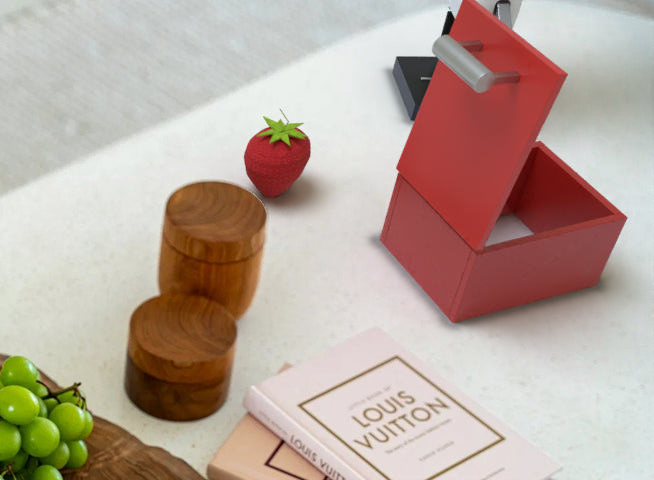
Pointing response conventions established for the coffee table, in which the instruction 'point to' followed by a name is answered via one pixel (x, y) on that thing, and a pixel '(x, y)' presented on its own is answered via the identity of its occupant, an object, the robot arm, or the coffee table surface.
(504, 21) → the robot arm
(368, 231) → the coffee table surface
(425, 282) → the red open box
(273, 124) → the strawberry
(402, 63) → the panel
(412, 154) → the hatch
